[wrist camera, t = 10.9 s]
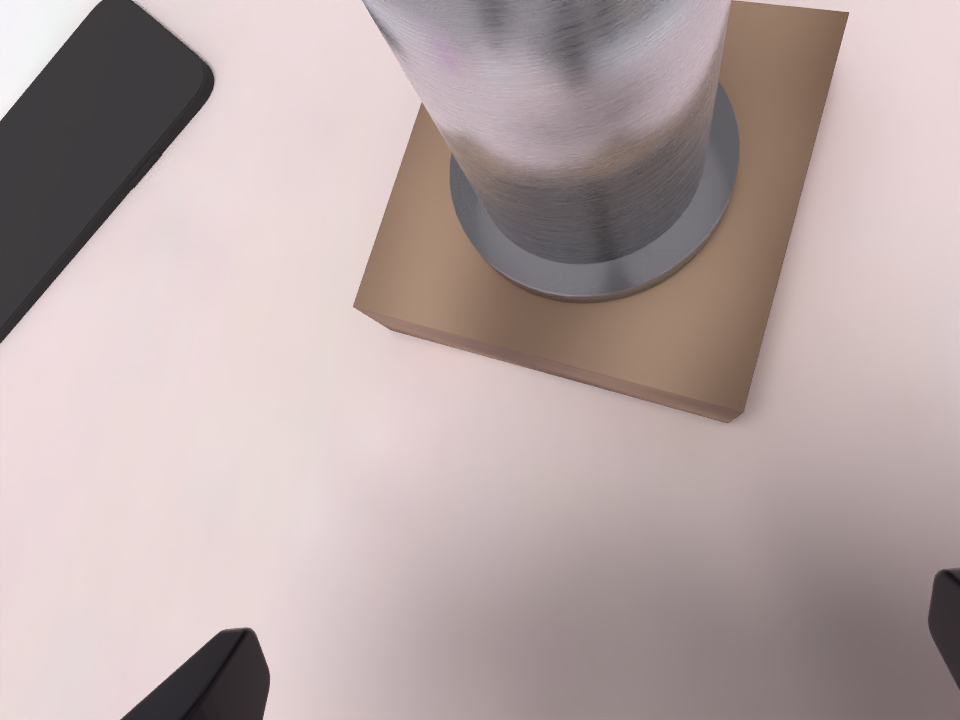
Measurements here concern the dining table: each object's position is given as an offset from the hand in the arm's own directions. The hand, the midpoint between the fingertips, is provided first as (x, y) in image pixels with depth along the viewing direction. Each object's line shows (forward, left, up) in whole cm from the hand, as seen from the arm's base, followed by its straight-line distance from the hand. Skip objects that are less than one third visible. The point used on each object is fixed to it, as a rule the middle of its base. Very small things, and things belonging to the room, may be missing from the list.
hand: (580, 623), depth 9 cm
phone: (+25, -7, -11) cm, 29 cm away
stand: (+3, -10, -11) cm, 15 cm away
